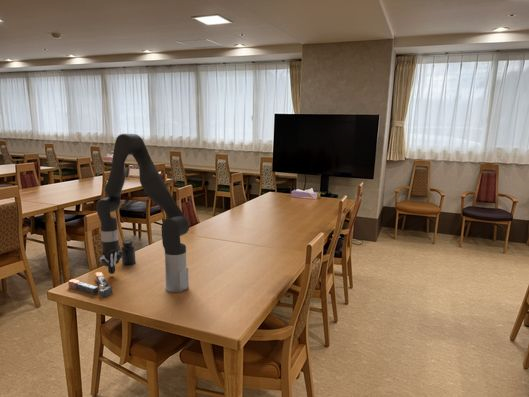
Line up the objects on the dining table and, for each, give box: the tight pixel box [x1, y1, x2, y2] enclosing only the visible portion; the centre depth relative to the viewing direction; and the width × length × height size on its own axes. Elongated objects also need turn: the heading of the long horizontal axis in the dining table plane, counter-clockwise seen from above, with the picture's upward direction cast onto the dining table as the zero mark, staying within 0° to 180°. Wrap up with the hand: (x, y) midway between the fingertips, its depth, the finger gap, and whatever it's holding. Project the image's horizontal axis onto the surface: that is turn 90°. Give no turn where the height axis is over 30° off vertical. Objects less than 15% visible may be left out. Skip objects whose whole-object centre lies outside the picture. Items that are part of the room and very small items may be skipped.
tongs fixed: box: [67, 278, 113, 298], centre depth 163 cm, size 21×5×4 cm, turn 63°
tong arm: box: [94, 271, 109, 288], centre depth 170 cm, size 16×3×3 cm, turn 33°
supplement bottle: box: [120, 239, 136, 266], centre depth 196 cm, size 7×7×12 cm
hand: (112, 273), depth 180 cm, fingers closed
